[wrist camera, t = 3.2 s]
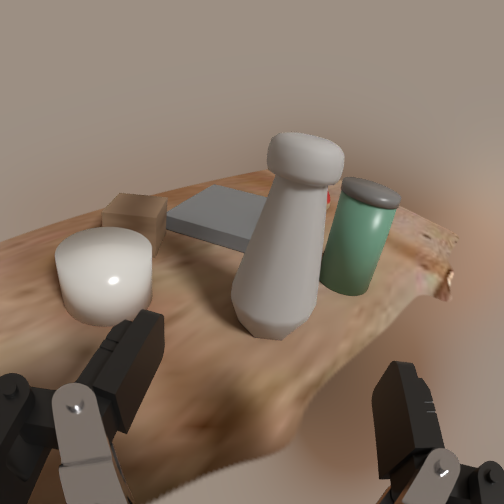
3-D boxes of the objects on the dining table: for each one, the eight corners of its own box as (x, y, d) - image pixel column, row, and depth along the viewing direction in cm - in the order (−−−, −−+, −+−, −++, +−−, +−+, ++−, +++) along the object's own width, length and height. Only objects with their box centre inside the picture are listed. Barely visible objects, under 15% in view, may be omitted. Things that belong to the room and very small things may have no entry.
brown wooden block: (103, 252, 27) (101, 212, 25) (120, 229, 32) (119, 192, 30) (155, 259, 28) (156, 217, 26) (165, 234, 32) (167, 197, 30)
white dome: (46, 302, 20) (35, 255, 18) (102, 261, 26) (99, 219, 24) (116, 342, 19) (109, 292, 17) (169, 288, 25) (170, 242, 23)
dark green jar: (313, 286, 28) (341, 186, 24) (320, 260, 32) (344, 173, 28) (368, 302, 27) (405, 205, 22) (368, 274, 31) (397, 189, 27)
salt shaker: (215, 335, 21) (244, 129, 15) (238, 289, 26) (267, 122, 20) (302, 358, 20) (366, 157, 14) (310, 307, 25) (356, 143, 19)
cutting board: (162, 227, 33) (162, 214, 32) (212, 194, 44) (214, 184, 43) (302, 270, 30) (305, 256, 29) (319, 223, 41) (322, 212, 40)
